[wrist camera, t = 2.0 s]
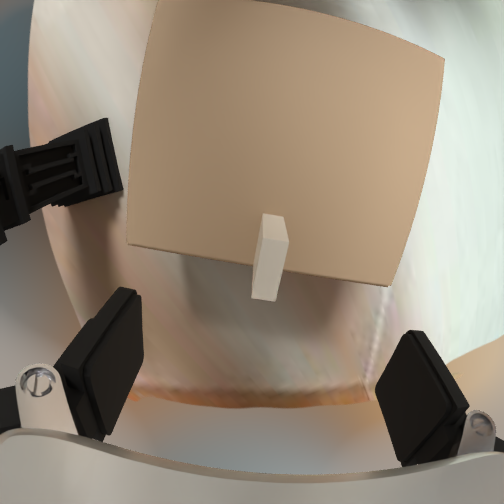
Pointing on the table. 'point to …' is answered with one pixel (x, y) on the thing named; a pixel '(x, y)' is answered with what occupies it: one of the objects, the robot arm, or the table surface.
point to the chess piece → (57, 173)
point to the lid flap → (280, 140)
